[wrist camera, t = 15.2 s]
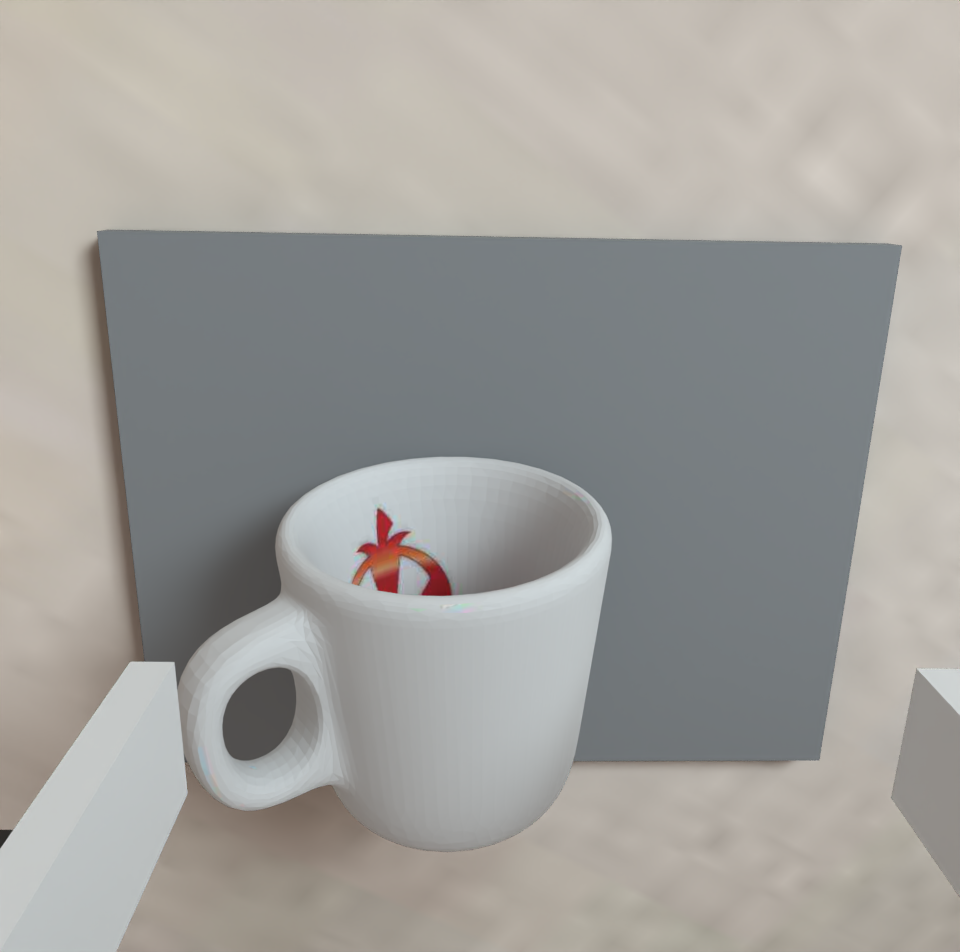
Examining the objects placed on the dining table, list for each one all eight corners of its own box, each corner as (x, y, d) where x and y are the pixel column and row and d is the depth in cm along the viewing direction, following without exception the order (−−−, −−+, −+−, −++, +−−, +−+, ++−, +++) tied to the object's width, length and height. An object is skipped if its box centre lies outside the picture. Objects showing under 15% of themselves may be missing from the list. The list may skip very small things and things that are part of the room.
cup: (282, 1035, 18) (236, 710, 15) (155, 800, 24) (102, 532, 21) (659, 800, 24) (685, 531, 20) (481, 659, 30) (480, 433, 26)
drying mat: (887, 243, 24) (902, 245, 24) (809, 745, 29) (819, 760, 29) (108, 229, 24) (96, 231, 23) (163, 747, 29) (155, 762, 28)
